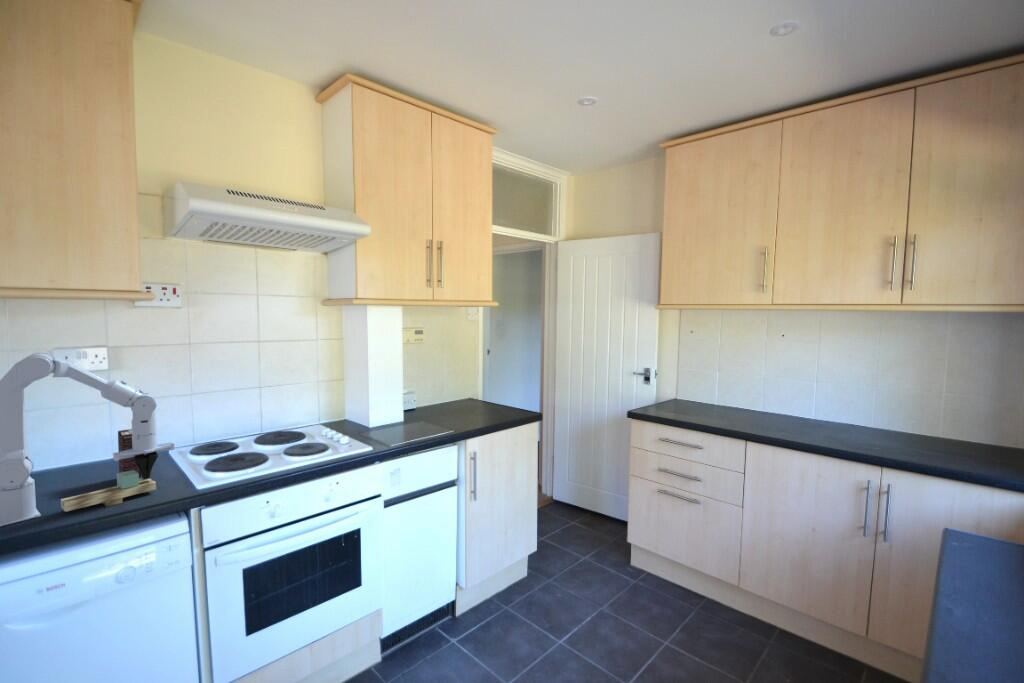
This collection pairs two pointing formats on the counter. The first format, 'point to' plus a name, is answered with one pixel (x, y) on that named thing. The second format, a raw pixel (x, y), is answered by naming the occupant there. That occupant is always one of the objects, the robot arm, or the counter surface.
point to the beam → (106, 496)
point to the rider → (127, 479)
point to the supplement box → (126, 444)
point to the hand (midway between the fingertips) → (145, 477)
